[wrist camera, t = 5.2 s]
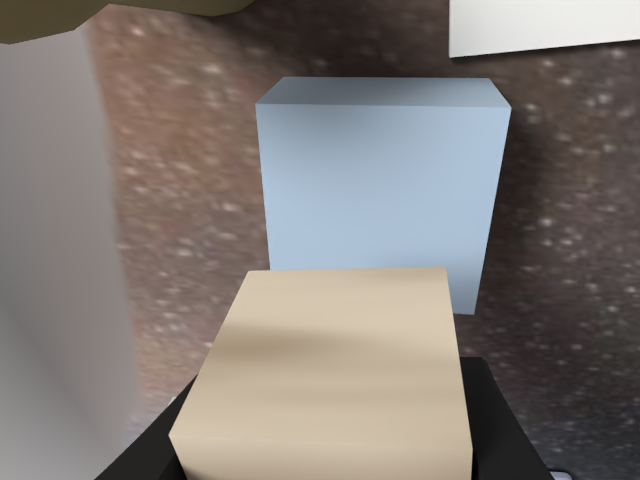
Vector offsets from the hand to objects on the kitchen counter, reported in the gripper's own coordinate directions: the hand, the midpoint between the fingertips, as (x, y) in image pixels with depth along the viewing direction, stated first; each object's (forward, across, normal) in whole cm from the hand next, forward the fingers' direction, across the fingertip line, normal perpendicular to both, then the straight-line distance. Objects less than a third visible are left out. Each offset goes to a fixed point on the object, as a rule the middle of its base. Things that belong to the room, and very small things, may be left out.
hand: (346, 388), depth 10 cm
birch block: (+2, 0, 0) cm, 2 cm away
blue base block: (+10, 0, -1) cm, 10 cm away
